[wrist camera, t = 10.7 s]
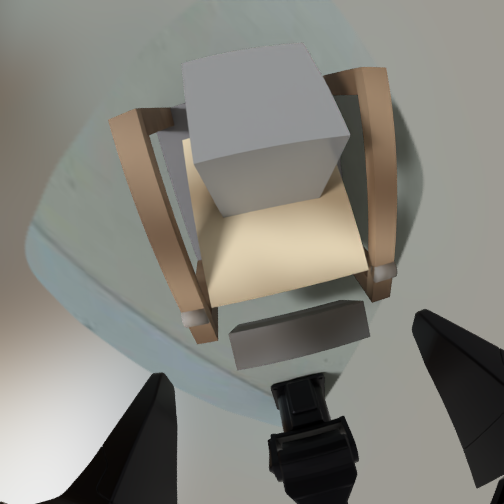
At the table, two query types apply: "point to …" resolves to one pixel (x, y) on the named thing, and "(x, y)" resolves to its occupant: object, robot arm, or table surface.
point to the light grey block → (262, 126)
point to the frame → (180, 268)
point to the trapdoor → (281, 268)
